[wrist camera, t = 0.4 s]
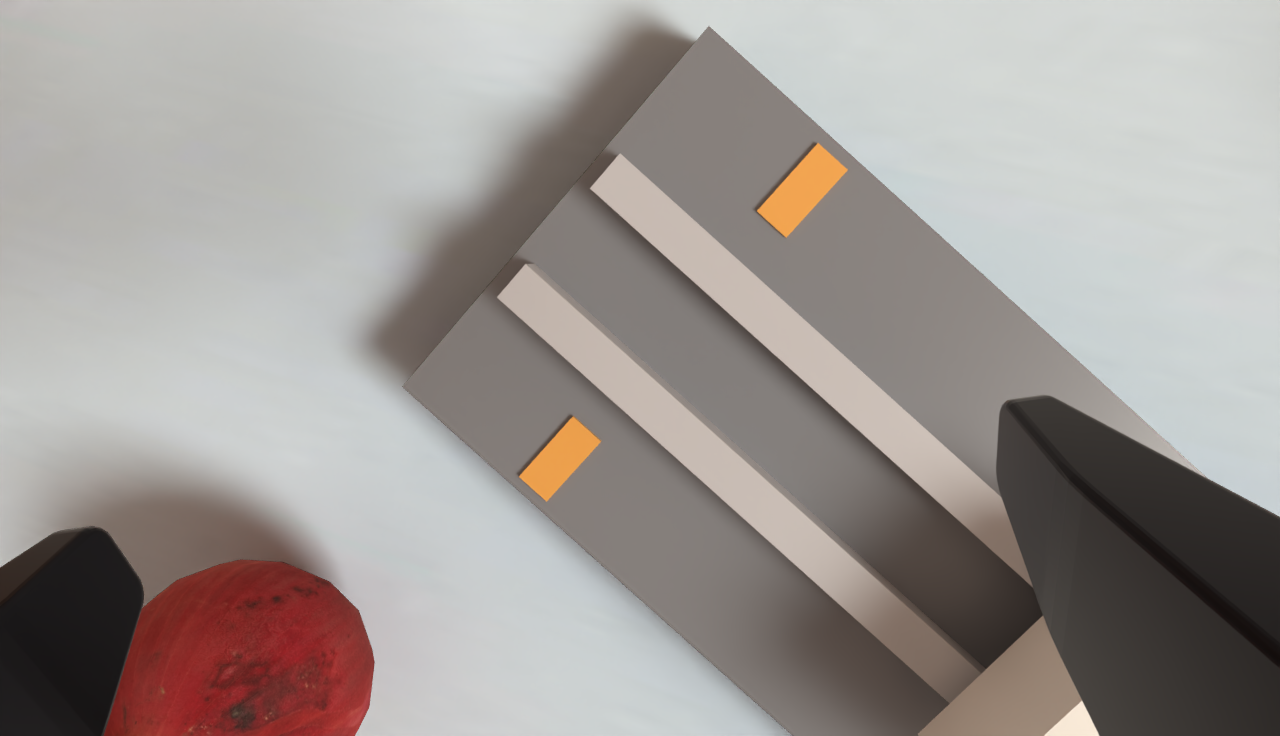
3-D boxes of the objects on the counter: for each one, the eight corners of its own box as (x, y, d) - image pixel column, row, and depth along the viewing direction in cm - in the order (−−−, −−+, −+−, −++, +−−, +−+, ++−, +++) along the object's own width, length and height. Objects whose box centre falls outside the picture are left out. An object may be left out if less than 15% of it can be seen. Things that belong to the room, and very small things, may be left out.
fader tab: (1224, 644, 20) (1357, 746, 16) (1031, 818, 21) (1109, 958, 17) (1094, 527, 20) (1193, 598, 16) (906, 706, 21) (953, 818, 17)
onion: (372, 494, 24) (199, 611, 16) (445, 688, 24) (312, 896, 16) (184, 555, 24) (-73, 696, 17) (258, 742, 25) (43, 967, 17)
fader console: (1307, 589, 22) (1399, 640, 19) (988, 875, 23) (1026, 964, 20) (710, 47, 22) (708, 13, 19) (429, 375, 23) (386, 392, 20)
